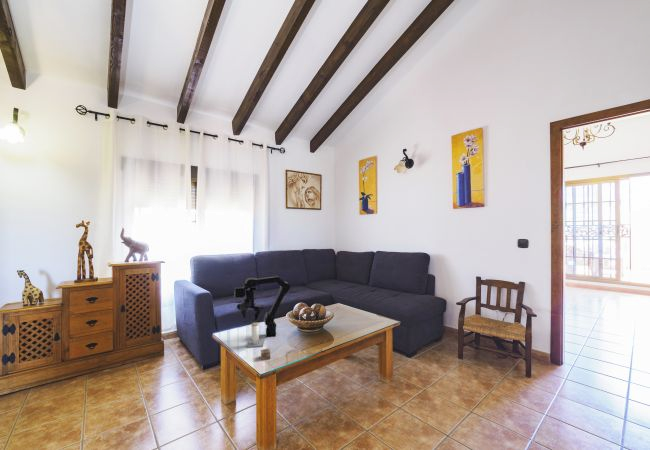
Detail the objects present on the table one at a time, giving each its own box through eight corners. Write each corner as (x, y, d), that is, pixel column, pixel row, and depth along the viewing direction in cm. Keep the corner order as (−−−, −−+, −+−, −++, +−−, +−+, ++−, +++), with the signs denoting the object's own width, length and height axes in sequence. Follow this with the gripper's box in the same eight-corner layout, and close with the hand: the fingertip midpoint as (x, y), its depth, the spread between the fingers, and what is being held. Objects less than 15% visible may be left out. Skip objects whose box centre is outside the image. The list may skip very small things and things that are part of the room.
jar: (259, 341, 183) (259, 322, 183) (258, 344, 178) (258, 324, 178) (252, 341, 183) (252, 322, 182) (251, 345, 178) (250, 324, 178)
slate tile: (264, 340, 187) (264, 339, 187) (262, 346, 177) (262, 345, 177) (249, 341, 186) (249, 339, 186) (247, 347, 176) (246, 346, 176)
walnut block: (269, 355, 165) (269, 348, 165) (270, 359, 161) (270, 352, 161) (261, 356, 164) (260, 349, 164) (261, 360, 159) (261, 353, 159)
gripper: (231, 298, 187) (231, 321, 187) (254, 300, 180) (254, 324, 180) (241, 294, 197) (242, 316, 197) (264, 296, 191) (264, 319, 190)
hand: (250, 319), depth 191 cm, fingers open, 9 cm apart
